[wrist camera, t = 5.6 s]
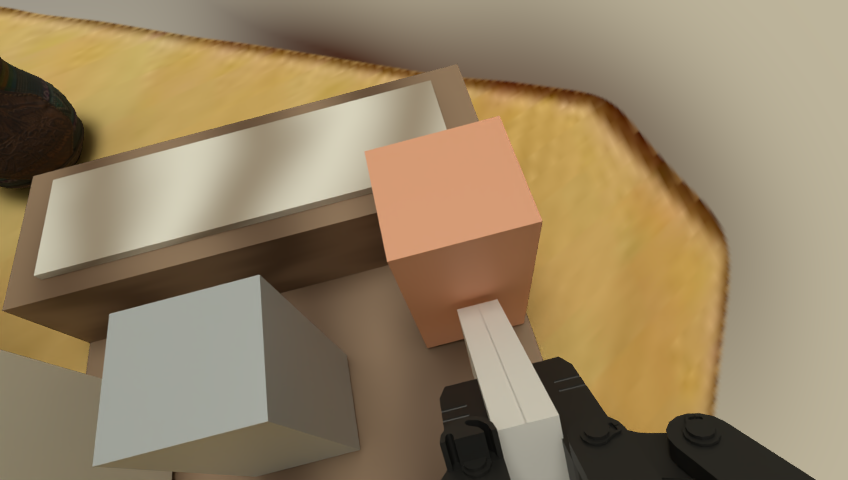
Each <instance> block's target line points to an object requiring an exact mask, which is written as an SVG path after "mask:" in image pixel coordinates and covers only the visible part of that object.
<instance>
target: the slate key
mask: <svg viewBox="0 0 848 480" xmlns="http://www.w3.org/2000/svg"><path fill="white" fill-rule="evenodd" d="M358 450H360V445H359V438H358V431H357V424H356V417H355V410H354V403H353V396H352V389H351V382H350V375H349V368H348V361H347V355H346V354H345V353H344V352H343V351H342V350H341V349H339V348H338V347H337V346H336V345H335V344H334V343H333V342H332V341H331V340H330V339H329V338H328V337H326V336H325V335H324V334H323V333H322V332H321V331H320V330H319V329H318V328H317V327H316V326H315V325H314V324H312V323H311V322H310V321H309V320H308V319H307V318H306V317H305V316H304V315H303V314H302V313H301V312H299V311H298V310H297V309H296V308H295V307H294V306H293V305H292V304H291V303H290V302H289V301H288V300H287V299H285V298H284V297H283V296H282V295H281V294H280V293H279V292H278V291H277V290H276V289H275V288H274V287H272V286H271V285H270V284H269V283H268V282H267V281H266V280H265V279H264V278H263V277H262V276H261V275H256V276H252V277H249V278H245V279H241V280H237V281H233V282H230V283H226V284H222V285H218V286H214V287H210V288H207V289H203V290H199V291H195V292H191V293H187V294H184V295H180V296H176V297H172V298H168V299H164V300H161V301H157V302H153V303H149V304H145V305H142V306H138V307H134V308H130V309H126V310H122V311H119V312H115V313H111V314H109V322H108V331H107V340H106V349H105V358H104V367H103V376H102V385H101V394H100V403H99V412H98V421H97V430H96V439H95V448H94V457H93V465H92V467H105V468H121V469H138V470H154V471H170V472H187V473H203V474H219V475H236V476H252V477H257V476H261V475H265V474H269V473H273V472H276V471H280V470H284V469H288V468H292V467H296V466H300V465H304V464H307V463H311V462H315V461H319V460H323V459H327V458H331V457H335V456H339V455H342V454H346V453H350V452H354V451H358Z"/></svg>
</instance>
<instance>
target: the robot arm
mask: <svg viewBox="0 0 848 480" xmlns="http://www.w3.org/2000/svg"><path fill="white" fill-rule="evenodd" d="M457 312H458V316H459V320H460V324H461V328H462V332H463V336H464V340H465V344H466V348H467V352H468V356H469V360H470V364H471V368H472V372H473V376H474V380H470V381H466V382H462V383H458V384H454V385H450V386H446V387H444V389H443V392H442V394H441V396H440V406H441V412H442V419H443V426H444V431H443V433H442V434H441V437H440V446H441V450H442V453H443V457H444V460H445V464H446V467H447V471H446V473H445V474H444V476H443V478H442V479H441V480H815V479H814V478H812V477H811V476H809V475H808V474H806V473H804V472H803V471H801V470H800V469H798V468H797V467H795V466H793V465H792V464H790V463H789V462H787V461H786V460H784V459H783V458H781V457H779V456H778V455H776V454H775V453H773V452H771V451H770V450H769V449H767V448H765V447H764V446H762V445H761V444H759V443H758V442H756V441H754V440H753V439H751V438H750V437H748V436H747V435H745V434H743V433H742V432H741V431H739V430H737V429H736V428H734V427H733V426H731V425H730V424H728V423H726V422H725V421H723V420H720V419H718V418H716V417H714V416H710V415H705V414H701V413H695V414H684V415H681V416H677V417H675V418H674V419H673V420H672V421H670V422H669V424H668V427H667V429H666V432H667V433H638V432H633V431H629V430H627V429H626V428H625V427H624V426H623V425H622V424H621V423H620V422H619V421H617V420H615V419H612V418H610V417H608V416H607V415H606V413H605V412H604V411H603V409H602V408H601V406H600V405H599V403H598V402H597V400H596V399H595V397H594V396H593V394H592V393H591V392H590V390H589V389H588V387H587V386H586V385H585V383H584V381H583V380H582V378H581V377H579V374H578V373H577V371H576V370H575V368H574V367H573V365H572V364H571V363H569V362H567V361H565V360H564V359H562V358H560V357H556V358H552V359H548V360H544V361H540V362H536V363H531V361H530V360H529V358H528V356H527V354H526V352H525V350H524V348H523V346H522V344H521V343H520V341H519V339H518V337H517V335H516V333H515V331H514V329H513V328H512V326H511V324H510V322H509V320H508V318H507V316H506V314H505V312H504V311H503V309H502V307H501V305H500V303H499V301H498V299H496V300H492V301H488V302H484V303H480V304H477V305H473V306H469V307H465V308H461V309H457Z"/></svg>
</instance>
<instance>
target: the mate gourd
mask: <svg viewBox="0 0 848 480" xmlns="http://www.w3.org/2000/svg"><path fill="white" fill-rule="evenodd" d="M83 138H84V127H83V124H82V121H81V120H80V119H79V117H77V115H76V112H75V109H74V108H73V106H72V104H70V103H69V101H68V100H67V99H66V97H65V96H64V95H63V94H62V93H61V92H60V91H59V90H57V89H56V88H54V87H53V85H52V84H50V83H48V82H46V81H44V80H43V79H41V78H39V77H37V76H35V75H32V74H30V73H27V72H25V71H23V70H20V69H18V68H16V67H14V66H12V65H10V64H9V63H7V62H5V61H4V60H3V59H1V57H0V186H1V187H5V188H28V187H31V184H32V180H33V176H36V175H40V174H44V173H47V172H51V171H55V170H59V169H63V168H66V167H70V166H73V165H74V164H75V163H76V162H77V160H78V158H79V156H80V154H81V150H82V146H83Z"/></svg>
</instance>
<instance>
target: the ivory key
mask: <svg viewBox="0 0 848 480" xmlns="http://www.w3.org/2000/svg"><path fill="white" fill-rule="evenodd" d="M101 385H102V379H101V378H97V377H94V376H90V375H87V374H83V373H80V372H76V371H73V370H70V369H66V368H63V367H59V366H56V365H52V364H49V363H45V362H42V361H38V360H35V359H31V358H28V357H24V356H21V355H17V354H14V353H10V352H7V351H3V350H0V480H172V472H170V471H154V470H138V469H121V468H105V467H92V465H93V457H94V448H95V439H96V430H97V421H98V412H99V403H100V394H101Z"/></svg>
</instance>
